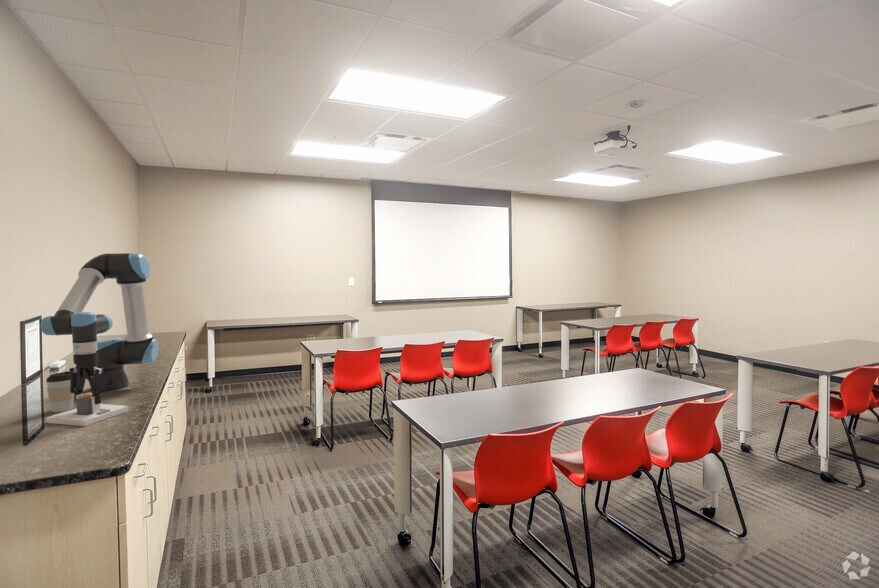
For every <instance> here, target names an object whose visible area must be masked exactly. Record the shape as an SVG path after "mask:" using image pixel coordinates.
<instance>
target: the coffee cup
mask: <svg viewBox="0 0 879 588" xmlns="http://www.w3.org/2000/svg"><path fill="white" fill-rule="evenodd" d="M70 377H71V374H70V370H68V371H64V372H63V371H62V372H56V373H53V374H52V373H51V374H49V376H48V377H46V381H45V382H46V385H47V387H46V388H47V389H46V390H47V394H48V402H49V405H50V409H51V412H52V413H63V412H66V411H69V410H70V409H71V410H72V408H73V409H74V398H75V395H74V393H70Z"/></svg>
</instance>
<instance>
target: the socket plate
mask: <svg viewBox="0 0 879 588" xmlns="http://www.w3.org/2000/svg"><path fill="white" fill-rule="evenodd" d="M129 408H130V407H129V405H120V404H119V405H118V404H104V403H100V411H99V412H96V413H93V414H90V415H77V407H76V408H73V409H71V410H68V411H63V412H58V413H57V414H53V415H51V416H47V417H45V422H46V424H54V425H55V424H57V425H69V426H79V427H80V426H81V427H87V426H89V425H92V424H95V423H97V422H101V421H105V420H107V419H109V418H112V417H115V416H119V415H121V414H124V413H126V412H129Z"/></svg>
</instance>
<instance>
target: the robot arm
mask: <svg viewBox="0 0 879 588" xmlns="http://www.w3.org/2000/svg"><path fill="white" fill-rule="evenodd" d="M77 275H78V277H77V279H76V280H75V282H74V284H73V286H72V288H71V289H70V291H69V292H68V294H67V295H66V296H65V298H64V299H63V301H62V302H61V304H60V306H59V307H58V309H57V311H56V312H55V313H54V315H50V316H45V317H43V318H42V319H41V321H40V330H41V331H42V334H44V335H46V336H57V337H58V336H71V338H72V341H71V342H72V353H73V355H72V358H73V359H72V360H73V364H74V365H75V367H73V366H72V367H70V368H69V370H68V371H69V372H70V374H71V377H70V393H74V398H75V400H76V399H77V398H81V397H84V396H83V394H85V391H84V389H85V383H86V381H88V384H89V387H90V390H91V393H92V397H91V399H92V413H96V412H99V411H100V404H102V403H101V402H102V399H101V397H102V396H101V395H104V394H106V391H111V390H117V389H122V388H125V387H127V386H129V385H130V380H129V378H128V376H127V374H126V373H127V372H126V371H125V366H128V365H129V366H130V365H145V364H152V363H153V362H155V361H156V359H157V358H158V354H159V350H160V349H159V348H160V347H159V346H160V345H159V344H160V343H159V341H158V339H155V338H154V337H153V334H152V333H150V332H149V326H148V318H147V316H148V315H147V310H146V300H145V293H144V284H145V283H146V282H147V279H148V278H149V277H150V275H151V266H150V263H149V261H148V259H147V258H146V256H145V255H143V254H141V253H133V252H129V253H127V252H125V253H124V252H123V253H103V254H102V253H101V254H99V255H97V256H95V257H93V258H91V259H90V260H88V261H87V262H86V263H85V264H84V265H82V267H81V268H80V269H79V271H78V274H77ZM108 279H109V280H110V279H112V280H113V279H115V280H116V284H117V285H118V286H120V287H121V295H122V304H123V309H124V310H123V311H124V319H125V326H126V336H125V337H124V339H123V337H113V338H108V339H107V338H106V339H103V340H99V341H98V335H101V334H105V333H106V332H108V331H110V330H111V328H112V327H113V319H112V318H111V317H110V316H109V315H108V314H105V313H104V314H103V313H97V314H96V313H95V312H93V311H84V309H85V307H86V306H87V304H88V302H89V301H90V299H91V298H92V296H93V294H94V292H95V290H96V289H97V287H98V286H99V285H101V284H103V282H104V281H105V280H108Z"/></svg>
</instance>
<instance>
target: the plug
mask: <svg viewBox="0 0 879 588" xmlns="http://www.w3.org/2000/svg"><path fill="white" fill-rule="evenodd" d="M82 394H83V396H84V397H81V398H77V399H76V398H75V403H76V408H77V415H90V414H93V413H92V399H91V397H92V395H93V393H92V392H86V393H85V392H84V393H82Z"/></svg>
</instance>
